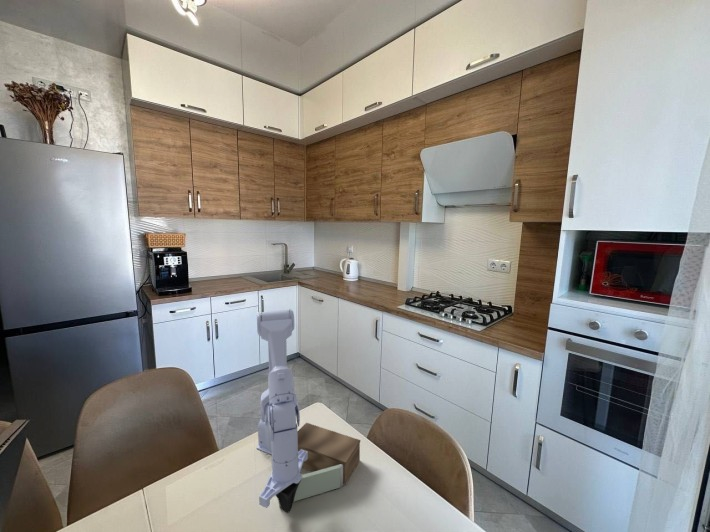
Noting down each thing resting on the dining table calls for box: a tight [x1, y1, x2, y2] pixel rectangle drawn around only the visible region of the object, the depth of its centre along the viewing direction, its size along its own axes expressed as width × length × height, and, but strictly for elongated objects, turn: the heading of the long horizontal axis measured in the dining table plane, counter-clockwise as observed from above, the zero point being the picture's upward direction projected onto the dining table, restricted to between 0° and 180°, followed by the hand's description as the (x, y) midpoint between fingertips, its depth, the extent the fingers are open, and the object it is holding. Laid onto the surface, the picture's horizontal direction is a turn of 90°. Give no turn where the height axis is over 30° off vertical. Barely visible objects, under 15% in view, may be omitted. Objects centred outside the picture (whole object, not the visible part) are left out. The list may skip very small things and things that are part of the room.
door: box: [277, 464, 344, 507], centre depth 72 cm, size 16×2×6 cm, turn 110°
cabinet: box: [297, 422, 361, 486], centre depth 83 cm, size 18×9×6 cm, turn 65°
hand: (286, 508), depth 67 cm, fingers closed
